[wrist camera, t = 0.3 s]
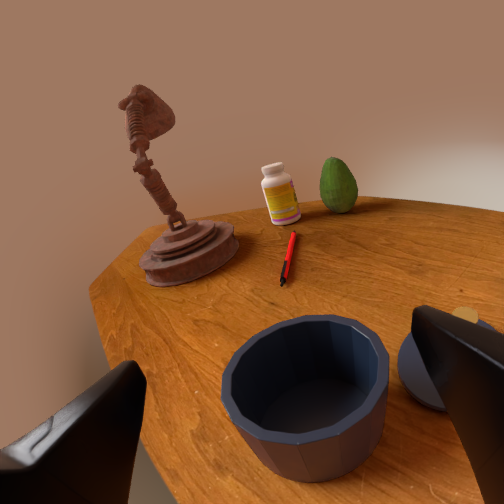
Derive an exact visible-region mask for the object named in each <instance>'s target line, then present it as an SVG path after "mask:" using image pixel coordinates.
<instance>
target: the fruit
mask: <svg viewBox="0 0 504 504" xmlns="http://www.w3.org/2000/svg"><path fill="white" fill-rule="evenodd" d="M320 195H321V198H322V200H323V203H324V204H325V205H326V207H327V208H329V209H330V210H331V211H333V212H336V213H345V212H347V211H349V210H350V209H351V208H352V207H353V206H354V204H355V202H356V199H357V196H358V188H357V184H356V180H355V178H354V176H353V175H352V173H351V172H350V170H349V168H348V167H347V165H346V164H345V163H344V162H343V161H342V160H340V159H338V158H334V157H331V158H329V159H327V160H326V161H325V163H324V166H323V169H322V174H321V179H320Z"/></svg>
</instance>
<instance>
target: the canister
mask: <svg viewBox="0 0 504 504" xmlns="http://www.w3.org/2000/svg"><path fill="white" fill-rule="evenodd" d="M388 383H389V354H388V352H387V350H386V349H385V347H384V345H383V343H382V341H381V340H380V338H379V336H378V335H377V334H376V333H375V332H373V331H372V330H370V329H369V328H367V327H366V326H365V325H363V324H362V323H360V322H359V321H357V320H354V319H349V318H345V317H341V316H337V315H333V314H332V315H305V316H301V317H297V318H294V319H290V320H286V321H282V322H279V323H276V324H275V325H273V326H271V327H269V328H267V329H265V330H263V331H261V332H259V333H257V334H255V335H254V336H252V337H251V338H250V339H249V340H248V341H247V342H246V343H245V344H244V345H243V346H241V347H240V348H239V349H238V350H237V351H236V352H235V353H234V354H233V356H232V358H231V360H230V362H229V363H228V365H227V367H226V369H225V371H224V372H223V375H222V387H221V401H222V403H223V405H224V407H225V409H226V411H227V413H228V415H229V417H230V419H231V421H232V422H233V424H234V425H235V427H236V428H237V430H238V431H239V432H240V434H241V435H242V437H243V438H244V439H245V441H246V442H247V443H248V445H249V446H250V447H251V449H252V450H253V451H254V453H255V454H256V455H257V457H258V458H259V459H260V461H261V462H262V463H263V464H264V465H265V466H266V467H268V468H269V469H270V470H272V471H273V472H274V473H276V474H278V475H280V476H282V477H284V478H287V479H290V480H293V481H298V482H309V483H310V482H322V481H328V480H331V479H335V478H338V477H340V476H343V475H345V474H347V473H349V472H350V471H352V470H354V469H355V468H357V467H358V466H359V465H360V464H362V463H363V462H364V461H365V460H366V459H367V458H368V457H369V456H370V454H371V453H372V452H373V450H374V449H375V447H376V445H377V444H378V442H379V439H380V437H381V435H382V432H383V425H384V418H385V411H386V403H387V394H388Z"/></svg>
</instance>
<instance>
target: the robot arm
mask: <svg viewBox="0 0 504 504" xmlns="http://www.w3.org/2000/svg"><path fill="white" fill-rule="evenodd" d="M411 333H412V337H413V339H414V341H415V344H416V346H417V348H418V351H419V353H420V356H421V358H422V361H423V363H424V366H425V368H426V370H427V373H428V375H429V377H430V379H431V381H432V382H433V384H434V386H435V388H436V390H437V392H438V394H439V396H440V398H441V400H442V402H443V404H444V406H445V408H446V410H447V412H448V414H449V416H450V418H451V420H452V422H453V425H454V427H455V429H456V431H457V433H458V436H459V438H460V440H461V442H462V445H463V447H464V449H465V452H466V454H467V456H468V459H469V461H470V464H471V466H472V469H473V472H474V473H475V477H476V480H477V483H478V485H479V488H480V491H481V494H482V497H483V500H484V503H485V504H504V334H502V333H499V332H497V331H494V330H492V329H489V328H486V327H484V326H481V325H478V324H476V323H473V322H470V321H468V320H465V319H462V318H460V317H457V316H454V315H452V314H449V313H446V312H443V311H441V310H438V309H435V308H433V307H430V306H427V305H422V306H419V307H416V308H414V310H413V314H412V325H411ZM146 387H147V380H146V377H145V375H144V374H143V372H142V370H141V369H140V367H139V365H138V364H137V362H136V361H134V360H128V361H123V362H122V363H120V364H119V365H118V366H117V367H115V368H114V369H113V370H111V371H110V372H109V373H107V374H106V375H105V376H104V377H102V378H101V379H100V380H98V381H97V382H96V383H94V384H93V385H92V386H90V387H89V388H88V389H87V390H85V391H84V392H83V393H82V394H80V395H79V396H77V397H76V398H75V399H74V400H72V401H71V402H70V403H68V404H67V405H66V406H64V407H63V408H62V409H60V410H59V411H58V412H56V413H55V414H54V416H51V417H50V418H48V419H47V420H46V421H45V422H43V423H42V424H40V425H39V426H38V427H36V428H35V429H33V430H32V431H30V432H29V433H27V434H26V435H24V436H22V437H21V438H19V439H18V440H16V441H14V442H13V443H11V444H10V445H8V446H6V447H5V448H3V449H0V504H128V498H129V491H130V486H131V479H132V473H133V468H134V462H135V456H136V451H137V446H138V441H139V437H140V432H141V427H142V422H143V414H144V405H145V396H146Z"/></svg>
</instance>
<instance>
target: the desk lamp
mask: <svg viewBox="0 0 504 504" xmlns="http://www.w3.org/2000/svg"><path fill="white" fill-rule="evenodd" d="M118 107H119V108H120V109H121V110H126V119H125V129H126V133H127V136H128V138H129V139H130V151H132V152H133V153H135V154H137V160H136V161H135V166H133V170H134V172H138V173H139V174H142V176H141V179H140V181H141V183H142V184H143V185H144V187H145V188H146V189H147V190H148V191H149V194H150V195H151V196H152V198H153V199H154V201H155V202H156V204H157V205H158V206H159V209H160V210H161V211H162V213H163V214H164V215H169V216H168V217H167V222H168V225H169V229H167V230H166V231H164V232H163V233H162V236H160V237H159V238H158V239H156V240H155V241H154V242H153V243H152V244H151V246H150V249H149V250H147V251H146V252H145V253H144V254H143V256H142V257H141V258H140V260H139V266H140V267H141V268H142V269H143V270H145V272H146V271H147V272H146V281H147V282H148V283H149V284H151V285H153V286H158V287H166V286H175V285H179V284H183V283H186V282H190V281H193V280H195V279H198V278H200V277H202V276H205V275H207V274H209V273H211V272H212V271H214V270H216V269H217V268H219V267H221V266H223V265H224V264H225V263H226V262H227V261H229V260H230V259H231V258H232V257H233V256H234V255H235V253H236V252H237V250H238V249H239V241H238V240H236V239H235V238H234V234H233V233H234V226H233V225H232V224H230V223H228V222H213V221H212V220H202V221H196V220H190V221H186V220H185V218H184V215H183V214H182V213H181V212H178V211H177V210H176V207H177V203H176V202H175V201H174V200H173V198H172V196H171V195H170V193H169V191H168V189H167V188H166V186H165V184H164V182H163V181H162V179H161V175H160V173H159V172H158V171H157V170H156V169H151V168H150V166H152V165H153V161H152V159H150V160H148V159H147V157H146V154H145V151H146V150H148V149H149V144H150V142H149V140H152V139H155V138H157V137H159V136H160V135H162V134H164V133H166V132H167V131H169V130H170V129H171V128H172V127H173V126H174V124H175V115H174V113H173V111H172V109H171V108H170V107H169V106H168V105H167V104H166V103H165V102H164V101H163V100H162V99H160V98H159V97H158V96H157V95H156V94H155V93H154V92H153V91H151V90H150V89H148V88H147V87H145V86H143V85H135V86H134V87H132V89H131V91H130V93H129V96H128V98H125V99H123V100H122V101H120V102H119V104H118ZM178 221H181V223H179V224H177V225H175V226H174V225H173V223H175V222H178ZM232 235H233V236H232Z"/></svg>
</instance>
